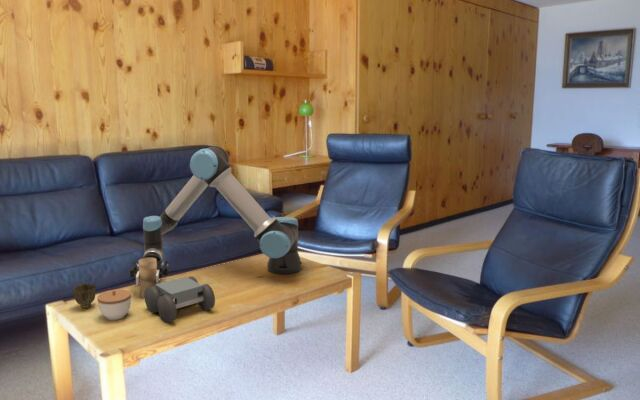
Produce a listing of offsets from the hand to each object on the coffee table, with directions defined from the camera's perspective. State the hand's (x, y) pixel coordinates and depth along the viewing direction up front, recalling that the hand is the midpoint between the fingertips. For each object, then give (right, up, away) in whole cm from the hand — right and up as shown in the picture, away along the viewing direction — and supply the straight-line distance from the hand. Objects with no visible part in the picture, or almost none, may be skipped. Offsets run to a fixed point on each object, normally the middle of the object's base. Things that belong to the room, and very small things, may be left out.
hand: (147, 279), depth 194 cm
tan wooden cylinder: (-1, -7, +7) cm, 9 cm away
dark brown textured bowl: (-20, -9, -5) cm, 23 cm away
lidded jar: (-7, -11, -12) cm, 18 cm away
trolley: (+14, -10, -6) cm, 18 cm away
